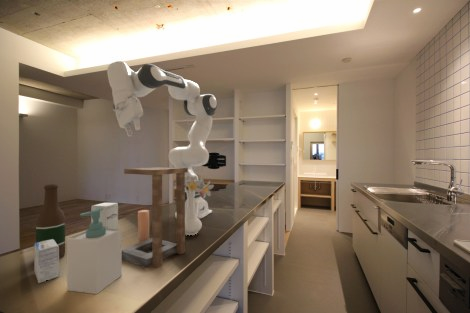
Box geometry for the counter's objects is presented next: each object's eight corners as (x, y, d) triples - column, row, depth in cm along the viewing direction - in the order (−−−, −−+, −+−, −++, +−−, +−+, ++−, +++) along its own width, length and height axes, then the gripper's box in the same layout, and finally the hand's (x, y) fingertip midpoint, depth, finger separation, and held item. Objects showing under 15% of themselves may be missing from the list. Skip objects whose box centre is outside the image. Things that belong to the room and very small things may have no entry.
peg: (144, 239, 86) (144, 209, 86) (151, 241, 84) (151, 210, 84) (135, 243, 82) (135, 211, 82) (142, 245, 80) (142, 213, 80)
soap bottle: (65, 291, 53) (65, 213, 53) (95, 272, 61) (95, 205, 61) (96, 295, 51) (96, 214, 51) (122, 275, 60) (121, 206, 60)
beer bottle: (41, 265, 65) (41, 186, 66) (30, 259, 69) (30, 185, 69) (70, 255, 72) (70, 183, 72) (59, 250, 76) (59, 182, 76)
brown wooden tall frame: (156, 242, 83) (155, 167, 83) (188, 251, 75) (187, 168, 75) (120, 258, 70) (119, 168, 70) (154, 270, 62) (153, 170, 62)
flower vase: (206, 240, 84) (206, 177, 84) (165, 236, 89) (165, 176, 90) (218, 230, 97) (218, 174, 97) (181, 226, 102) (181, 173, 102)
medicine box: (59, 277, 59) (59, 245, 59) (37, 284, 56) (37, 250, 56) (54, 267, 64) (54, 238, 64) (33, 273, 61) (33, 242, 61)
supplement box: (105, 236, 89) (105, 206, 90) (90, 235, 91) (90, 205, 91) (118, 230, 97) (118, 202, 97) (104, 229, 98) (104, 202, 98)
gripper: (142, 91, 85) (150, 125, 85) (126, 108, 100) (134, 137, 99) (125, 90, 80) (134, 126, 80) (111, 109, 95) (119, 139, 95)
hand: (134, 132), depth 90 cm, fingers open, 8 cm apart
